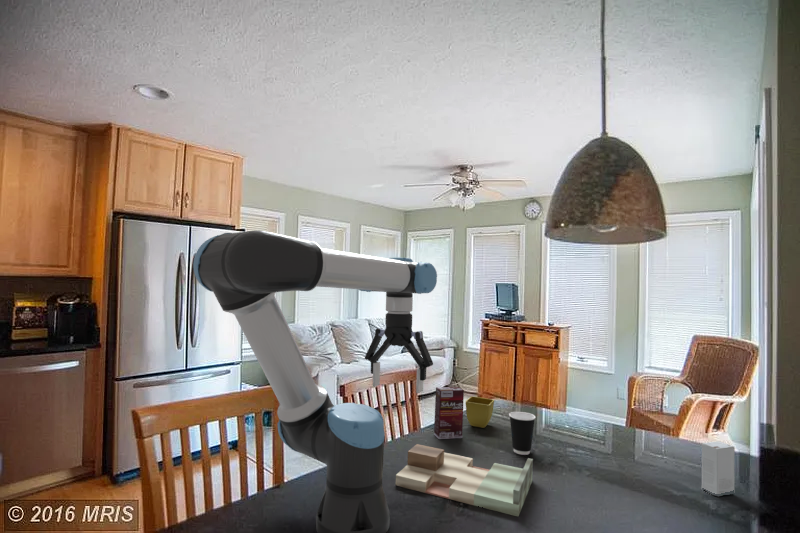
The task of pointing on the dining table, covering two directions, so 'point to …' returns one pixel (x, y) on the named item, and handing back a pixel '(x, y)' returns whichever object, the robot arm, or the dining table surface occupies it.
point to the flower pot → (479, 411)
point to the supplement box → (448, 412)
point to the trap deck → (472, 483)
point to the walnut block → (425, 457)
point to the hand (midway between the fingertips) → (397, 388)
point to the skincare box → (717, 467)
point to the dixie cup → (522, 431)
